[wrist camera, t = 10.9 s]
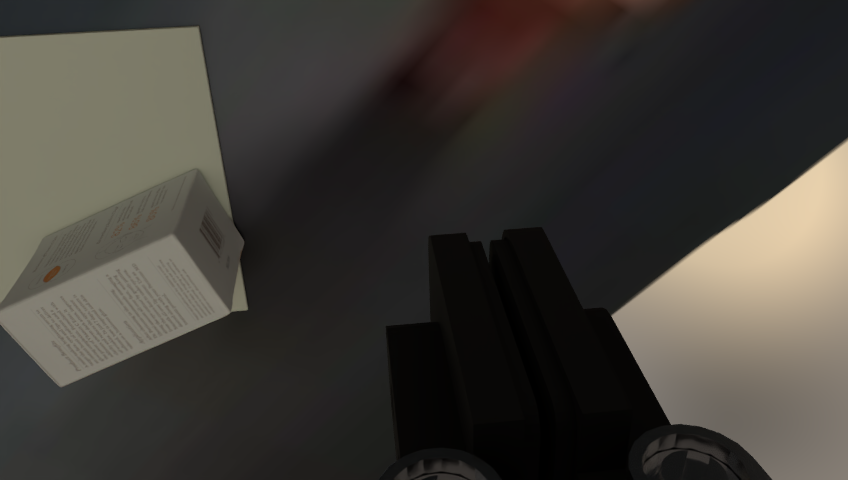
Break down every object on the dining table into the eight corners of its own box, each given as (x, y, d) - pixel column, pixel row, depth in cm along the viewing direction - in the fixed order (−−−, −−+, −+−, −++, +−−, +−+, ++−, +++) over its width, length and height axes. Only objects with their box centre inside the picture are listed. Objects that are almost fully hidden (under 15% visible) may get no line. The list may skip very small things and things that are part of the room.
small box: (248, 240, 46) (99, 305, 48) (197, 164, 43) (41, 236, 45) (232, 317, 39) (58, 392, 41) (171, 233, 37) (-13, 316, 38)
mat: (199, 25, 40) (198, 27, 40) (248, 307, 49) (247, 310, 49) (-100, 41, 39) (-102, 43, 39) (6, 327, 48) (4, 330, 48)
